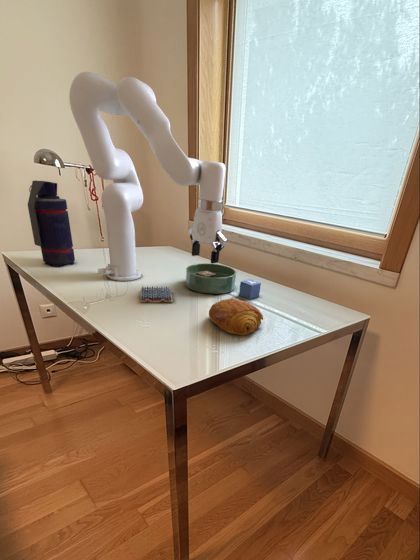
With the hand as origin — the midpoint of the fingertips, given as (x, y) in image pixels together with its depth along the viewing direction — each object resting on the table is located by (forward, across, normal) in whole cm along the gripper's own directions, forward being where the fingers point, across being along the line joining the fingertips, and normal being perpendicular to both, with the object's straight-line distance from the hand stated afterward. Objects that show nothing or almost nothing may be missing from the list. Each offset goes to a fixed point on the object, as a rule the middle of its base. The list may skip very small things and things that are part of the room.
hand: (204, 259), depth 111 cm
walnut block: (+10, +1, +1) cm, 10 cm away
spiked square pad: (+11, -1, -19) cm, 22 cm away
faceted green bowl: (+10, +1, +4) cm, 11 cm away
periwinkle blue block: (+10, +16, +8) cm, 20 cm away
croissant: (+10, +29, -13) cm, 33 cm away
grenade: (+13, -54, -30) cm, 64 cm away
